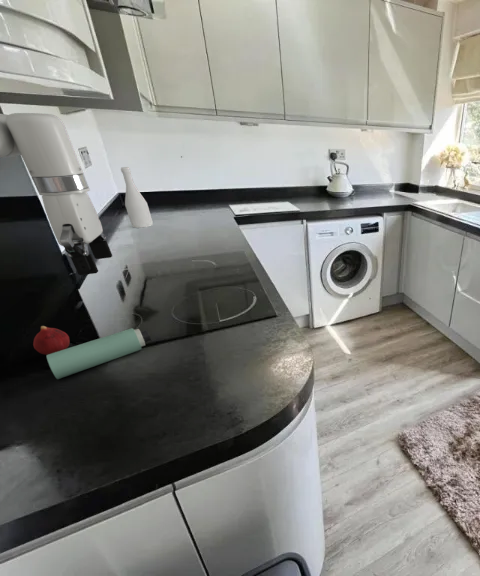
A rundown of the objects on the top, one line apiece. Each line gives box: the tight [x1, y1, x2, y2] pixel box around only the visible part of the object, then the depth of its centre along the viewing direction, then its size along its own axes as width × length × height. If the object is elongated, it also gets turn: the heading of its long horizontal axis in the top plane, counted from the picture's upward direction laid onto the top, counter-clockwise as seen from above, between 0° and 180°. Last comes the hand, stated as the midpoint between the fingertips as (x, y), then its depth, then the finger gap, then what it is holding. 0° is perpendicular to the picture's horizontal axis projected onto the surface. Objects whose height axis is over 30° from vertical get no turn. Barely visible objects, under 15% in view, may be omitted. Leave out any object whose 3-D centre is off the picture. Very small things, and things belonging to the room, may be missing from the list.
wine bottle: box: [120, 166, 154, 229], centre depth 169 cm, size 10×10×30 cm
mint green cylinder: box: [46, 327, 152, 380], centre depth 74 cm, size 17×6×6 cm, turn 136°
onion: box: [32, 325, 71, 356], centre depth 74 cm, size 6×6×8 cm
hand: (97, 265), depth 71 cm, fingers open, 9 cm apart
